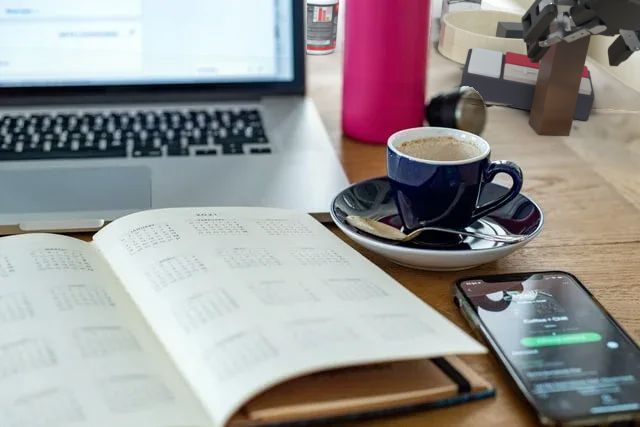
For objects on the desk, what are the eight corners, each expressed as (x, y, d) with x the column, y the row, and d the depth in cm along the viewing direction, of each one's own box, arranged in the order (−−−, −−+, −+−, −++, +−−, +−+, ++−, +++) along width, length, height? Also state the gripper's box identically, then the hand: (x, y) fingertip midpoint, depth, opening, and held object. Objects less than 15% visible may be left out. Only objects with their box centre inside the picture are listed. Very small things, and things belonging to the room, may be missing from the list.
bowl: (528, 46, 127) (534, 12, 125) (564, 79, 114) (572, 42, 112) (427, 42, 125) (431, 7, 123) (452, 75, 112) (457, 36, 110)
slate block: (521, 51, 122) (526, 22, 120) (530, 60, 118) (535, 30, 116) (493, 50, 121) (497, 21, 119) (501, 58, 118) (506, 29, 116)
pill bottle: (341, 54, 117) (348, -21, 112) (301, 56, 115) (307, -21, 110) (325, 42, 121) (331, -31, 117) (286, 44, 119) (291, -31, 115)
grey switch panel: (597, 91, 99) (464, 66, 101) (587, 126, 101) (456, 101, 103) (591, 63, 108) (470, 41, 110) (582, 96, 110) (463, 74, 112)
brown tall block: (558, 124, 99) (580, 18, 94) (569, 135, 96) (593, 27, 90) (528, 123, 98) (548, 16, 93) (538, 134, 95) (560, 25, 90)
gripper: (717, -65, 78) (632, 27, 93) (563, -76, 76) (502, 21, 91) (731, 9, 76) (641, 92, 91) (573, 1, 74) (508, 87, 89)
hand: (572, 56), depth 91 cm, fingers open, 8 cm apart
